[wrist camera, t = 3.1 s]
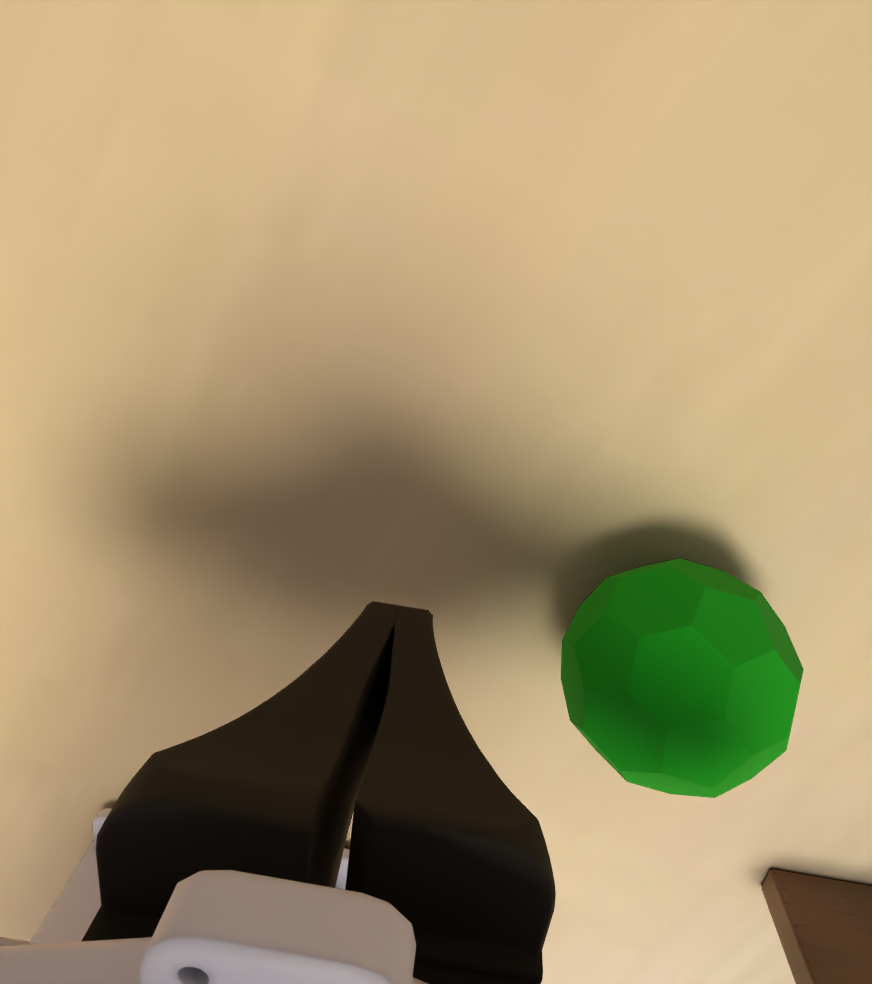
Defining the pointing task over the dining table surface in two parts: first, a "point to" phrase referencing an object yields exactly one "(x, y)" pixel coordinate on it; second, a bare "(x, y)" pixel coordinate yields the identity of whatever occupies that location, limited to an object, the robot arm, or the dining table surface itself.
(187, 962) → the robot arm
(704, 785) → the polyhedron
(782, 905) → the brown l-shaped bars
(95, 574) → the dining table surface
